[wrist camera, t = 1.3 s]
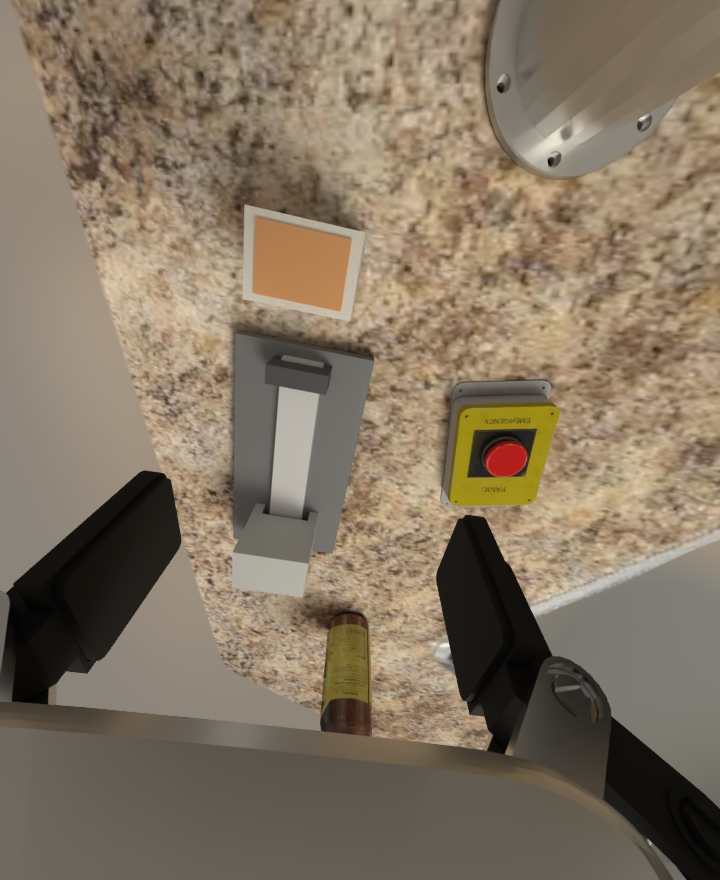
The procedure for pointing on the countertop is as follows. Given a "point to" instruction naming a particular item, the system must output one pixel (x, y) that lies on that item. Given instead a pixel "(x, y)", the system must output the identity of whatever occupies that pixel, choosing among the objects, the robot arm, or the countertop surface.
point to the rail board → (291, 455)
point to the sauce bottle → (347, 677)
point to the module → (301, 263)
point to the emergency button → (497, 443)
